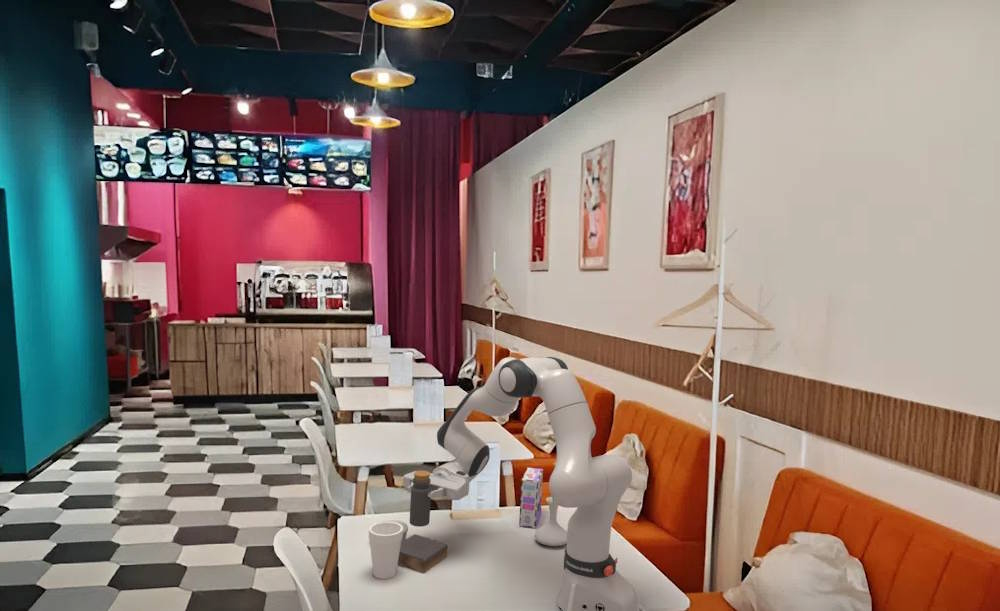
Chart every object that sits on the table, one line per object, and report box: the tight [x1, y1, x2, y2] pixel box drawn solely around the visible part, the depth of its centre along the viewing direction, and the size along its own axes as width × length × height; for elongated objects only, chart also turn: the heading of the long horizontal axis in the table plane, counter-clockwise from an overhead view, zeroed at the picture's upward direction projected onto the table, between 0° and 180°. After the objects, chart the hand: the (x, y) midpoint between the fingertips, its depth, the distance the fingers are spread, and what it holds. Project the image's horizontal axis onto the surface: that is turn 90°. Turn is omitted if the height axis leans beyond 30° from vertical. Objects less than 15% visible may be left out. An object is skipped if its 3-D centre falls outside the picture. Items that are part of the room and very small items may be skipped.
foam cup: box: [368, 521, 403, 580], centre depth 179 cm, size 10×9×13 cm
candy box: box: [518, 467, 544, 529], centre depth 220 cm, size 14×6×16 cm, turn 168°
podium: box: [397, 534, 448, 574], centre depth 188 cm, size 12×12×4 cm
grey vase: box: [533, 462, 568, 547], centre depth 204 cm, size 13×11×25 cm
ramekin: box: [377, 519, 409, 542], centre depth 198 cm, size 11×11×5 cm
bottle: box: [409, 470, 432, 528], centre depth 187 cm, size 6×6×15 cm
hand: (419, 492), depth 186 cm, fingers closed on bottle, 6 cm apart
